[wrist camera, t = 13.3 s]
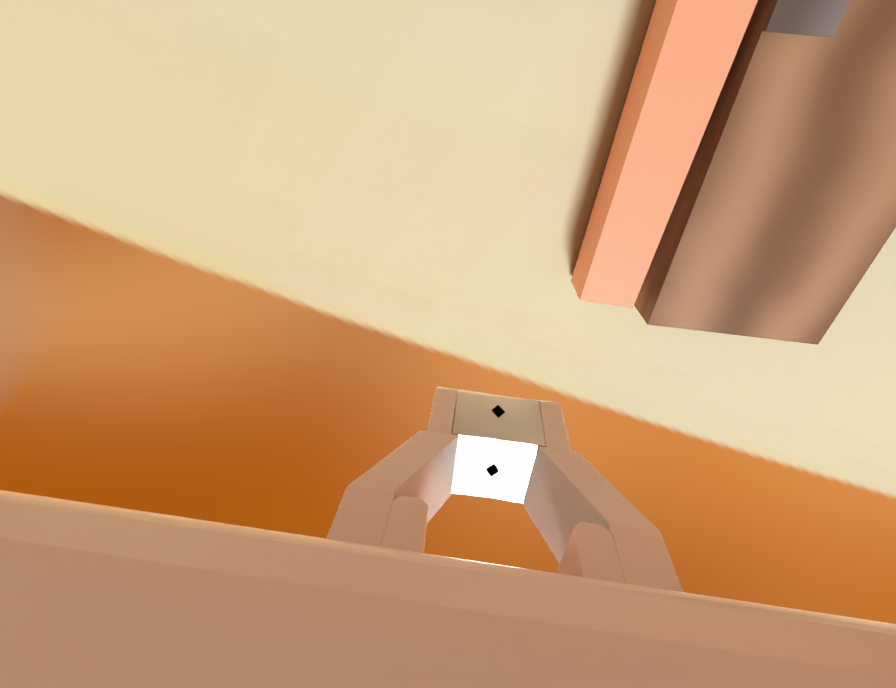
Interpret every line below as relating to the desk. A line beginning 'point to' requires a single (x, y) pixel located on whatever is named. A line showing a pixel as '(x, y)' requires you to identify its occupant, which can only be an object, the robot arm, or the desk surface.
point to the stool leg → (657, 141)
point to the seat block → (786, 178)
